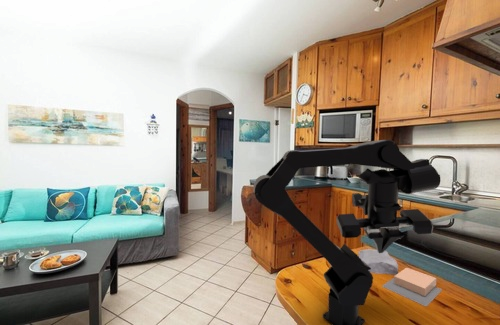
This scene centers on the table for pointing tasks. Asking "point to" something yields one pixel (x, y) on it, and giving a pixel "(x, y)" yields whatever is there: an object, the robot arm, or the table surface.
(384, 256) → the stone block
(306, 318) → the table surface
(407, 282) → the tile
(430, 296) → the mat
